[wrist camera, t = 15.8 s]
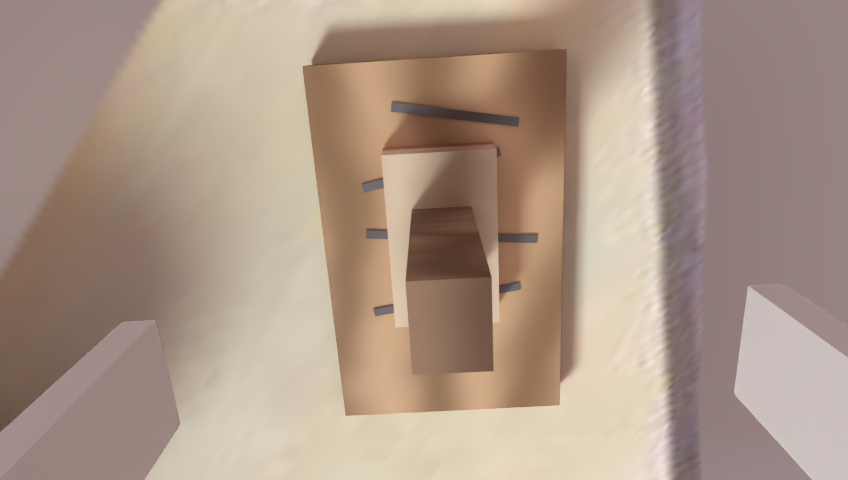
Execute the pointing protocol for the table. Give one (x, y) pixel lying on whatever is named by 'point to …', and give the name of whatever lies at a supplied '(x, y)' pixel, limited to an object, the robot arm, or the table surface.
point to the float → (444, 252)
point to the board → (517, 217)
